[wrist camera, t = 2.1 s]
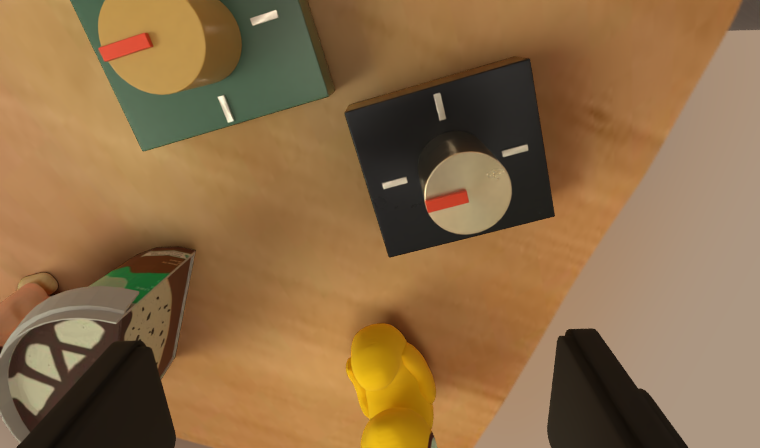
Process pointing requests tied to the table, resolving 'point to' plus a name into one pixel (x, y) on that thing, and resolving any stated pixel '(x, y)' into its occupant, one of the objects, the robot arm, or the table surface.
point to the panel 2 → (444, 114)
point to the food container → (92, 332)
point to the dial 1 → (169, 43)
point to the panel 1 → (238, 90)
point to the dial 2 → (463, 183)
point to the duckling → (392, 389)
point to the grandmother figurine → (24, 302)
